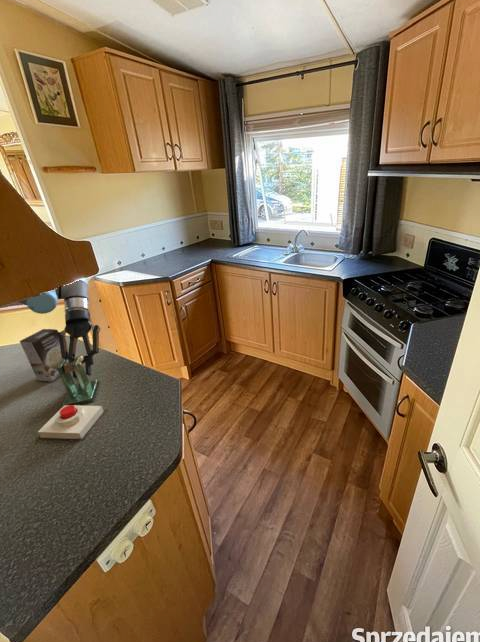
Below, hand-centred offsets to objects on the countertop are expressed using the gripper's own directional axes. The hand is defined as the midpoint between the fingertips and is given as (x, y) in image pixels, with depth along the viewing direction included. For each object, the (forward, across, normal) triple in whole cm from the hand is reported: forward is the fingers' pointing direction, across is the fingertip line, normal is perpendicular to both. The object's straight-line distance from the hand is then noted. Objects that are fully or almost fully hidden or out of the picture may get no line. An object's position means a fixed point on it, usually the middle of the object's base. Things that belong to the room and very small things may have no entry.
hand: (82, 376), depth 97 cm
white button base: (+16, -1, +11) cm, 19 cm away
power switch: (+6, 0, +1) cm, 7 cm away
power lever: (-2, 0, +4) cm, 4 cm away
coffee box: (-6, +12, -11) cm, 17 cm away
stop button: (+13, -1, +13) cm, 19 cm away
